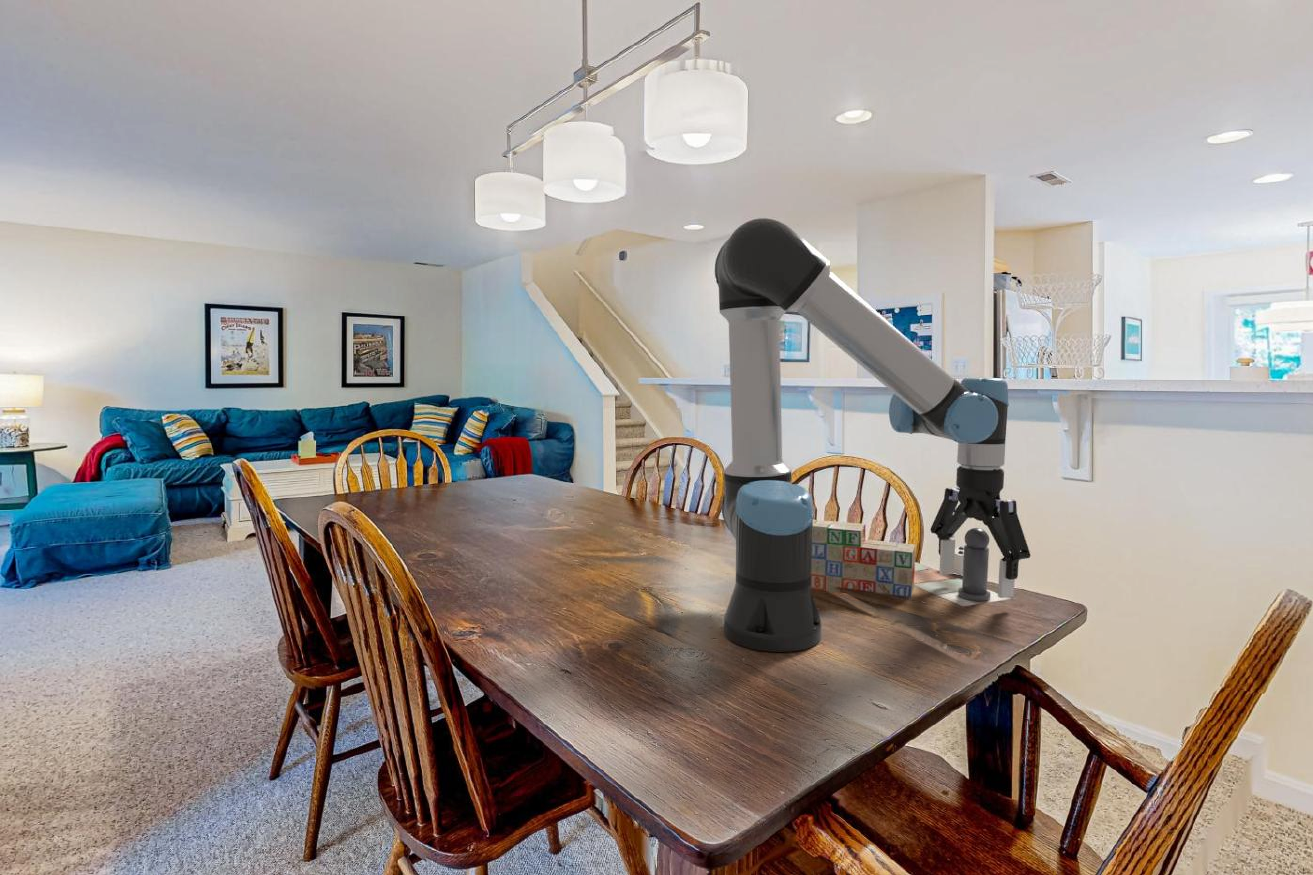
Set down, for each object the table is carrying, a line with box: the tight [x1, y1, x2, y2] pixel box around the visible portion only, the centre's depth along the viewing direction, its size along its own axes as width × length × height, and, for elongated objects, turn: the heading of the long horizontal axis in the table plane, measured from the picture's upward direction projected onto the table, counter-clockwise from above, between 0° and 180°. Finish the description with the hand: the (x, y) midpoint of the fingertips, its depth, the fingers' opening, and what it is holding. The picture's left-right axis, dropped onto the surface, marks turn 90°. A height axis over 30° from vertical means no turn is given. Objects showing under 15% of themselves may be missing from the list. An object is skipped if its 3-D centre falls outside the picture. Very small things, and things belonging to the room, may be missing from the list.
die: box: [954, 546, 964, 576], centre depth 140 cm, size 6×6×6 cm
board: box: [914, 561, 1012, 607], centre depth 134 cm, size 12×26×1 cm, turn 20°
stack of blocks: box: [811, 519, 916, 598], centre depth 131 cm, size 21×6×12 cm, turn 64°
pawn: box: [958, 527, 990, 602], centre depth 124 cm, size 5×5×12 cm
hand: (974, 584), depth 124 cm, fingers open, 13 cm apart
